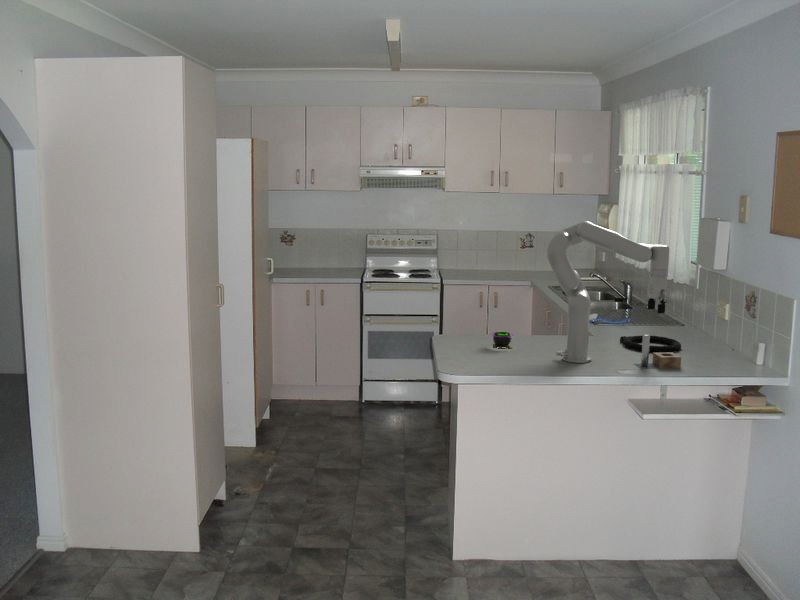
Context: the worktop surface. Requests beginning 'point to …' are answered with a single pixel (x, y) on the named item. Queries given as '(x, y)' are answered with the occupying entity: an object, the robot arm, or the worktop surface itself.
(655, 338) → the cable lock
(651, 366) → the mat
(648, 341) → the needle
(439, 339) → the worktop surface
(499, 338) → the toy cauldron
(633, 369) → the worktop surface
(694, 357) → the worktop surface
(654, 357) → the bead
